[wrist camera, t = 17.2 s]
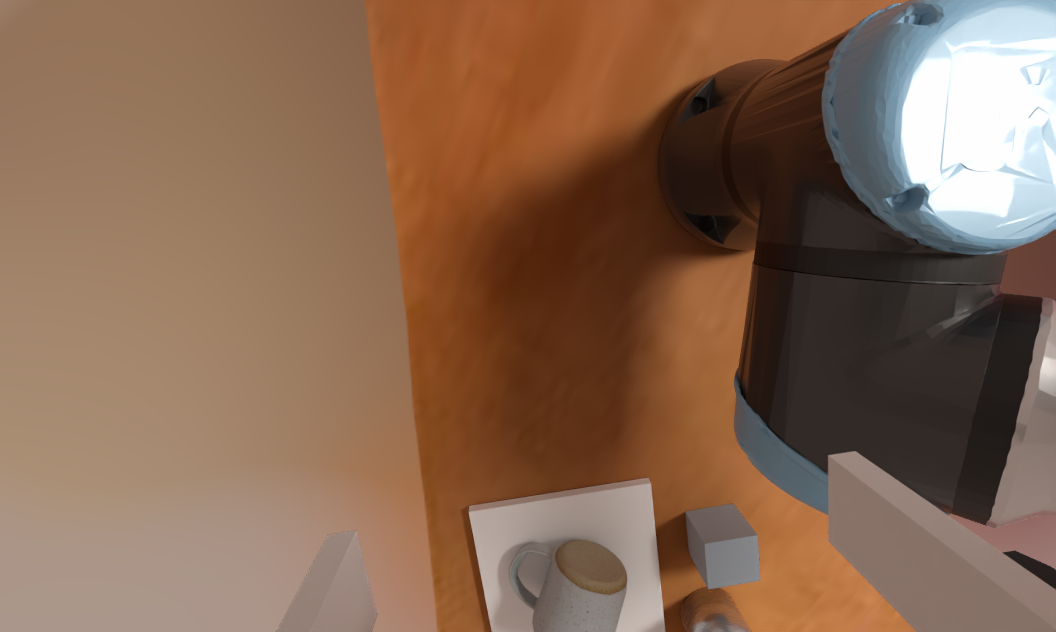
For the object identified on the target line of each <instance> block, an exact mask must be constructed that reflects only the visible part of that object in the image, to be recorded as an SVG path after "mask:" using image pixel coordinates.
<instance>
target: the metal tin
mask: <svg viewBox="0 0 1056 632" xmlns="http://www.w3.org/2000/svg"><path fill="white" fill-rule="evenodd" d="M680 618H681V621H682V624H683V626H684V628H685V631H686V632H752V631H751V629H750V628H749V626H748V624H747V622H746V621H745V619H744V617H743V616H742V614H741V612H740V611H739V609H738V607H737V605H736V604H735V602H734V600H733V599H732V597H731V596H730V594H729V593H727V592H726V591H725V590H723V589H720V588H714V589H708V588H707V587H705V588H701V589H698V590H696V591H694V592H692V593H691V594H690V595H688V596H687V597H686V599H685V600H684V601H683V603H682V605H681V608H680Z"/></svg>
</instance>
